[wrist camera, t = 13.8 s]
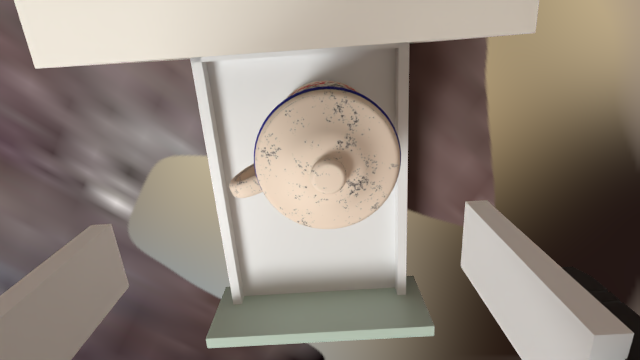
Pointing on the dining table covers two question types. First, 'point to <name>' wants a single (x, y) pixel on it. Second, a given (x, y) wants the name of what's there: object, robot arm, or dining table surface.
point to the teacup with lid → (324, 157)
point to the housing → (250, 26)
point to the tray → (295, 239)
